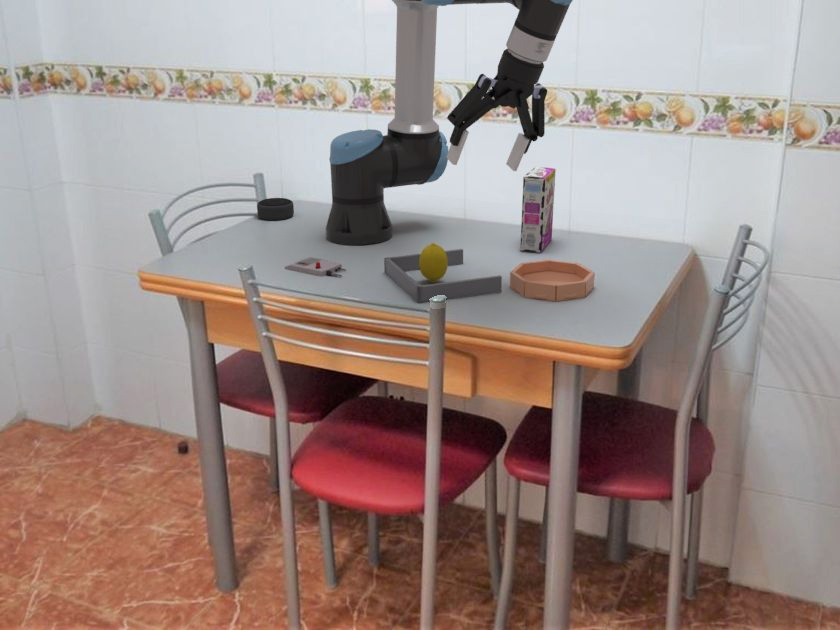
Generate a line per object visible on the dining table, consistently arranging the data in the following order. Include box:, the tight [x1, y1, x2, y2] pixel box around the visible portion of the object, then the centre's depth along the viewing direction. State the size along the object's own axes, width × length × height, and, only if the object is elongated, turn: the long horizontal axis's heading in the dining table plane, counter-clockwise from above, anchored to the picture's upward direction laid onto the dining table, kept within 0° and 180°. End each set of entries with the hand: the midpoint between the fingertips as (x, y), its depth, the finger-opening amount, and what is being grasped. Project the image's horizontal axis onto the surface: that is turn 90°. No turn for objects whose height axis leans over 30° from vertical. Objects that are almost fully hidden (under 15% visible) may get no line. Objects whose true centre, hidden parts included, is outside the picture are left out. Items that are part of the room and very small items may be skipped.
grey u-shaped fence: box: [383, 248, 503, 304], centre depth 181 cm, size 20×17×3 cm
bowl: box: [509, 259, 595, 302], centre depth 177 cm, size 15×15×3 cm
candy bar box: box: [519, 166, 557, 254], centre depth 201 cm, size 11×5×16 cm, turn 161°
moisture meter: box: [284, 257, 347, 277], centre depth 189 cm, size 7×16×3 cm, turn 57°
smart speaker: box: [256, 197, 295, 221], centre depth 229 cm, size 9×9×4 cm
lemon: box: [419, 242, 449, 284], centre depth 179 cm, size 6×6×8 cm
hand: (481, 164), depth 171 cm, fingers open, 13 cm apart
